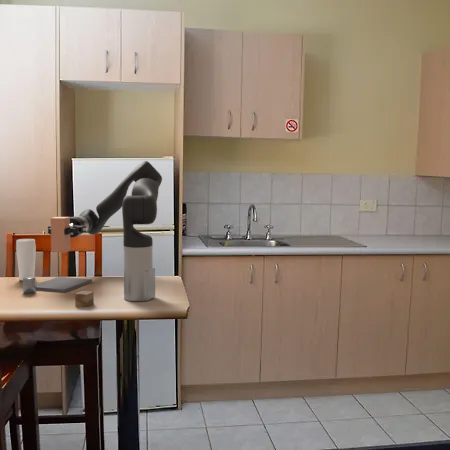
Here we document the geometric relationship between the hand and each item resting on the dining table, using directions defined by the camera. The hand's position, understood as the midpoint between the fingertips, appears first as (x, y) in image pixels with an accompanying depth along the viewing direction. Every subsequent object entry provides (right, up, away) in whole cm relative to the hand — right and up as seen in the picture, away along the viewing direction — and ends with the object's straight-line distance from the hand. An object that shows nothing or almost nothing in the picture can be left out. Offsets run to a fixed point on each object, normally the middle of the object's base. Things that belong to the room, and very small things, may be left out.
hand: (57, 231), depth 190 cm
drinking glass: (-16, -18, +14) cm, 28 cm away
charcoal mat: (0, -19, +5) cm, 20 cm away
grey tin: (-7, -20, -7) cm, 23 cm away
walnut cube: (+15, -22, -22) cm, 35 cm away
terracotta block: (0, -7, +3) cm, 8 cm away
